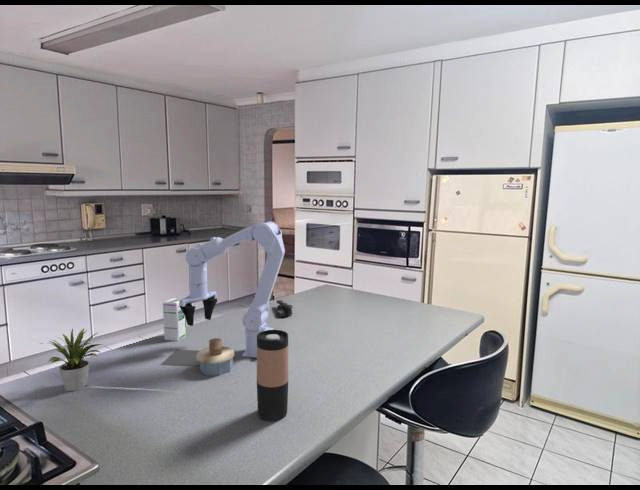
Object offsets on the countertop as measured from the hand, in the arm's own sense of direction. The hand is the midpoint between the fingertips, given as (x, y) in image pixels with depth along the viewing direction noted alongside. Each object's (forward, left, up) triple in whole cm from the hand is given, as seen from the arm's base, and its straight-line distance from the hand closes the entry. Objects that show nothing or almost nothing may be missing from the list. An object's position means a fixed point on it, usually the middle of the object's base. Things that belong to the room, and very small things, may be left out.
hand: (199, 322), depth 138 cm
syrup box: (+12, -8, -10) cm, 17 cm away
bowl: (-11, +16, -9) cm, 22 cm away
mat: (+1, +9, -9) cm, 13 cm away
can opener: (-22, -45, -10) cm, 51 cm away
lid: (-11, +16, -5) cm, 20 cm away
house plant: (+24, +31, -10) cm, 40 cm away
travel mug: (-32, +38, -10) cm, 51 cm away
